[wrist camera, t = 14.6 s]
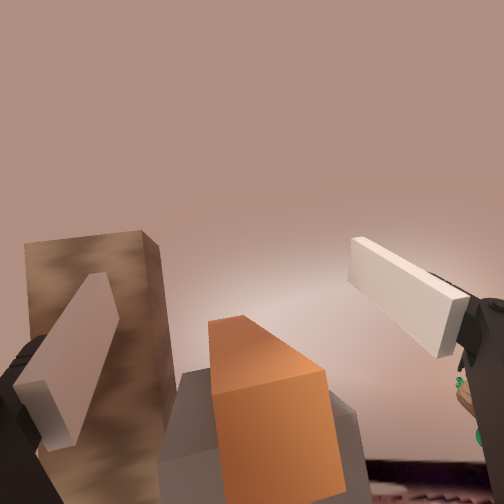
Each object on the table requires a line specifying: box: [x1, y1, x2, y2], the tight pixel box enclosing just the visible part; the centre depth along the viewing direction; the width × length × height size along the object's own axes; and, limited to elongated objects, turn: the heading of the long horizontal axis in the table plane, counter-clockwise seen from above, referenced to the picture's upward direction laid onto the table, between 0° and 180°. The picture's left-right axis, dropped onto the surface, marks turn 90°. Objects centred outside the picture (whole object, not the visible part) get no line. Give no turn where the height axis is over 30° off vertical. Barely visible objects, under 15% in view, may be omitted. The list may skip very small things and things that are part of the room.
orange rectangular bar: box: [208, 315, 346, 504], centre depth 20 cm, size 4×22×4 cm, turn 9°
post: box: [24, 230, 177, 504], centre depth 29 cm, size 10×10×30 cm
